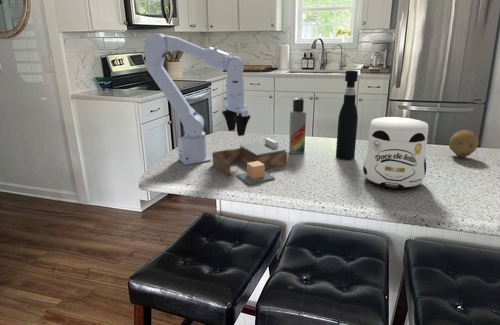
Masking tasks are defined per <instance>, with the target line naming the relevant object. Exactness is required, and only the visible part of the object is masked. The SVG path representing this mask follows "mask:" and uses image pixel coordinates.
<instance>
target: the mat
mask: <svg viewBox="0 0 500 325" xmlns="http://www.w3.org/2000/svg"><path fill="white" fill-rule="evenodd" d="M236 177H237V178H238V179H240V180H241V181H242V182H244V183H245V184H247V185H248V186H251V185H255V184H261V183H265V182H269V181H274V180H275V179H276V178H275V177H274V176H273V175H271V174H269V173H268V172H266V171H265V177H262V178H257V179H252V178H250V177H249V176H248V175H247V172H243V173H238V174H236Z"/></svg>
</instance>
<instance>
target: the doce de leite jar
mask: <svg viewBox="0 0 500 325" xmlns="http://www.w3.org/2000/svg"><path fill="white" fill-rule="evenodd" d="M428 135H429V124H428V123H427V122H425V121H423V120H419V119H414V118H408V117H401V116H399V117H398V116H385V117H383V116H382V117H377V118H373V119H372V120H371V121H370V125H369V134H368V144H367V151H366V153H365V156H364V159H363V162H362V171H363V174H364V175H363V176H364V177H365V179H366V180H368V181H369V182H370V183H372V184H374V185H377V186H379V187H383V188H388V189H397V190H403V189H411V188H415V187H417V186H420V185H421V184H422V183H423V181H424V179H425V177H426V173H427V161H426V150H427V145H428Z"/></svg>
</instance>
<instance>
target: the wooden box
mask: <svg viewBox="0 0 500 325" xmlns="http://www.w3.org/2000/svg"><path fill="white" fill-rule="evenodd" d="M211 153H212V165H213V167H215V168H216V169H218V170H219V171H220V172H221V173H222V174H224V175H225V176H226V177H230V176H231V163H237V162H241V163H243V164H245V165H246V166H247V163H250V162H255V161H259V162H261V163H263V164H264V165H265V170H266V169H271V168H275V167H281V166H287V164H288V162H287V161H288V152H287V151H285V152H279V153H273V154H268V155H262V156H255V155H253V154H252V153H250V152H248V151H246V150H245V149H243V148H241V147H236V148H230V149H224V150H218V151H212V152H211Z"/></svg>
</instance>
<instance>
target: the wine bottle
mask: <svg viewBox="0 0 500 325" xmlns="http://www.w3.org/2000/svg"><path fill="white" fill-rule="evenodd" d="M358 72H359V71H357V70H346V71H345V77H344V79H345V80H344V82H346V88H345V93H344V95H343V104H342V106H341V108H340V110H339V115H338V118H337V119H338V121H337V135H336V136H337V137H336V150H335V158H336V159H338V160H341V161H353V160H354V159H355V156H356V145H357V144H356V142H357V131H358V121H359V114H358V109H357V106H356V96H357V95H356V88H355V87H356V86H355V84H356V82H358V75H359V74H358Z"/></svg>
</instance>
